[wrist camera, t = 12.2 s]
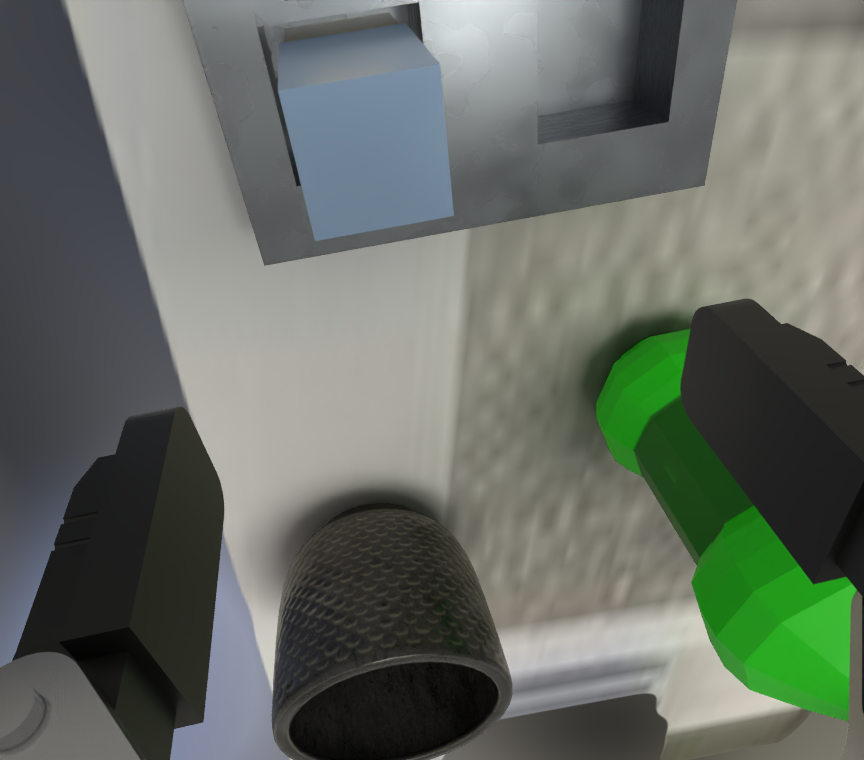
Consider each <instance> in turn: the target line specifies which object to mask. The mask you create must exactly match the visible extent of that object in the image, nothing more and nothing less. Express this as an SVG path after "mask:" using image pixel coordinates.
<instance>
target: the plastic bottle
mask: <svg viewBox="0 0 864 760" xmlns="http://www.w3.org/2000/svg"><path fill="white" fill-rule="evenodd" d="M689 335H690V329H686V330H681V331H676V332H671V333H666V334H661V335H656V336H651V337H648V338H646V339H643V340H641V341H640V342H639V343H637V344H636V345H635V346H633V347H632V348H631V349H629V350H628V351H627V352H625V353H624V354H623V355H621V357H620V359H619V360H617V361H616V362H615V363H614V365H613V367H612V369H611V372H610V374H609V376H608V378H607V380H606V382H605V385H604V387H603V389H602V391H601V393H600V396H599V398H598V400H597V402H596V417H597V420H598V423H599V425H600V428H601V430H602V433H603V436H604V438H605V441H606V444H607V446H608V448H609V450H610V452H611V454H612V455H613V457H614V459H615V461H617V462H618V463H620V464H621V465H622V466H624V467H625V468H627V469H628V470H630V471H632V472H634V473H636V474H638V475H640V476H642V477H644V479H645V480H646V482H647V484H648V485H649V487H650V489H651V490H652V492H653V494H654V495H655V497H656V499H657V500H658V502H659V503H660V505H661V507H662V508H663V510H664V512H665V513H666V515H667V517H668V518H669V520H670V522H671V523H672V525H673V527H674V528H675V530H676V532H677V533H678V535H679V537H680V538H681V540H682V542H683V543H684V545H685V547H686V548H687V550H688V552H689V553H690V555H691V557H692V558H693V560H694V562H695V563H696V565H697V568H696V571H695V574H694V577H693V580H692V586H693V589H694V592H695V596H696V599H697V602H698V605H699V609H700V612H701V615H702V618H703V621H704V624H705V627H706V630H707V633H708V636H709V639H710V642H711V643H712V645H713V647H714V649H715V651H716V652H717V654H718V656H719V658H720V659H721V661H722V663H723V665H724V667H725V668H727V669H728V670H729V671H730V672H731V673H732V674H733V675H734V676H735V677H736V678H738V679H739V680H740V681H741V682H742V683H743V684H744V685H745V686H746V687H747V688H749V689H750V690H752V691H755V692H758V693H761V694H763V695H766V696H769V697H772V698H775V699H778V700H780V701H783V702H786V703H789V704H792V705H795V706H798V707H800V708H803V709H806V710H809V711H813V712H817V713H820V714H824V715H827V716H831V717H834V718H838V719H841V720H845V721H848V722H849V673H850V614H851V601H852V598H853V596H854V594H855V592H856V590H857V589H856V588H855V587H854V586H853V584H852V583H851V582H850V581H849V579H848V578H847V577H844V578H839V579H835V580H831V581H826V582H822V583H818V584H813V583H812V582H811V581H810V579H809V578H808V577H807V575H806V574H805V573H804V571H803V570H802V569H801V567H800V566H799V565H798V563H797V562H796V561H795V559H794V558H793V557H792V555H791V554H790V553H789V551H788V550H787V549H786V547H785V546H784V545H783V543H782V542H781V541H780V539H779V538H778V537H777V535H776V534H775V533H774V531H773V530H772V529H771V527H770V526H769V525H768V523H767V522H766V521H765V519H764V518H763V517H762V515H761V514H760V513H759V511H758V510H757V509H756V507H755V506H754V505H753V503H752V502H751V501H750V499H749V498H748V497H747V495H746V494H745V493H744V491H743V490H742V489H741V487H740V486H739V485H738V483H737V482H736V481H735V479H734V478H733V477H732V475H731V474H730V473H729V471H728V470H727V469H726V467H725V466H724V465H723V463H722V462H721V461H720V459H719V458H718V457H717V455H716V454H715V453H714V451H713V450H712V449H711V447H710V446H709V445H708V443H707V442H706V441H705V439H704V438H703V437H702V435H701V434H700V433H699V431H698V430H697V429H696V427H695V426H694V425H693V423H692V422H691V421H690V419H689V418H688V416H687V414H686V411H685V409H684V406H683V403H682V399H681V391H680V384H681V377H682V372H683V367H684V361H685V356H686V351H687V345H688V340H689Z"/></svg>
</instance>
